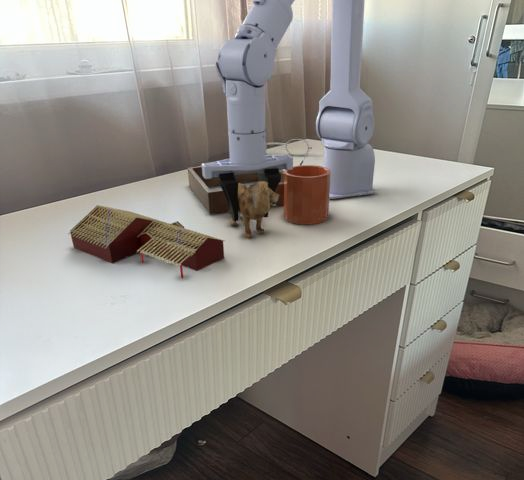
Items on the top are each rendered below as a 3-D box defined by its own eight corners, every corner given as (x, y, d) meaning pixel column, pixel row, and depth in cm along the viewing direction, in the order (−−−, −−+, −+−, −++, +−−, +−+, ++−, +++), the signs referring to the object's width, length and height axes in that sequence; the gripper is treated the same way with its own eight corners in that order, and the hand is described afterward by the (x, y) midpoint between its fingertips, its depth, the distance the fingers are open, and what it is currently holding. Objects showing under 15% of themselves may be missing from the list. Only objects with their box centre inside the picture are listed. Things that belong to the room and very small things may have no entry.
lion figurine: (284, 237, 82) (282, 181, 77) (256, 245, 80) (252, 188, 75) (240, 212, 93) (235, 162, 88) (214, 219, 91) (208, 168, 85)
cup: (317, 207, 95) (319, 163, 90) (335, 221, 88) (338, 174, 84) (278, 212, 93) (277, 167, 88) (293, 227, 87) (294, 179, 82)
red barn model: (226, 256, 77) (224, 222, 74) (163, 286, 69) (158, 249, 66) (134, 226, 88) (129, 195, 86) (70, 248, 80) (62, 215, 77)
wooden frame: (268, 178, 112) (267, 159, 110) (299, 203, 97) (299, 181, 95) (189, 187, 107) (187, 167, 105) (209, 214, 93) (207, 192, 90)
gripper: (282, 122, 83) (282, 205, 90) (194, 129, 79) (202, 215, 86) (298, 130, 77) (296, 217, 85) (205, 138, 73) (212, 229, 81)
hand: (249, 217), depth 85 cm, fingers closed on lion figurine, 4 cm apart
